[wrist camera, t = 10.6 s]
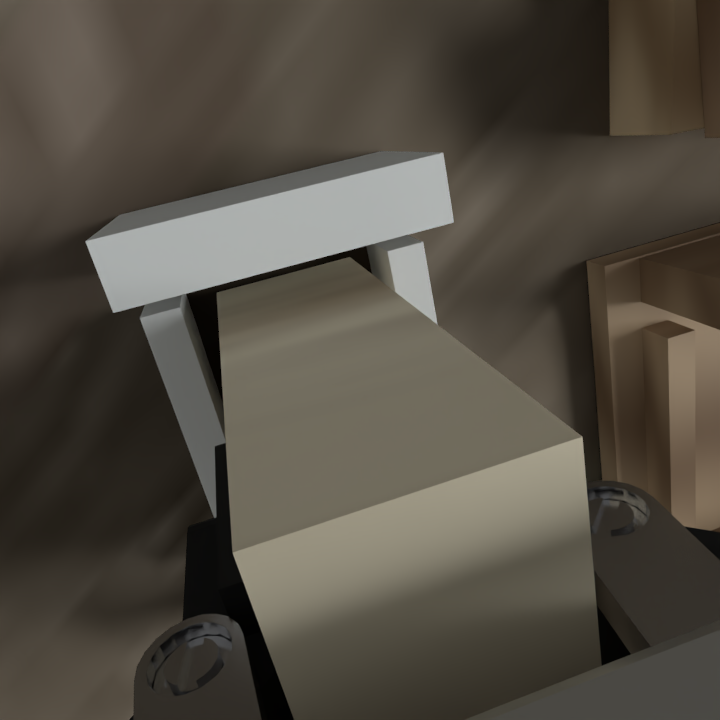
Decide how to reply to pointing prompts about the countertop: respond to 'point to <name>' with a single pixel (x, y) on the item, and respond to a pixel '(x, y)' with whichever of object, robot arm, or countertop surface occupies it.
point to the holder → (263, 259)
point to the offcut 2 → (710, 63)
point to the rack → (661, 371)
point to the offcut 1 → (654, 67)
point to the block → (397, 506)
